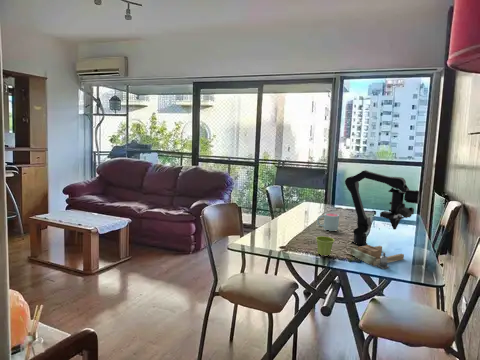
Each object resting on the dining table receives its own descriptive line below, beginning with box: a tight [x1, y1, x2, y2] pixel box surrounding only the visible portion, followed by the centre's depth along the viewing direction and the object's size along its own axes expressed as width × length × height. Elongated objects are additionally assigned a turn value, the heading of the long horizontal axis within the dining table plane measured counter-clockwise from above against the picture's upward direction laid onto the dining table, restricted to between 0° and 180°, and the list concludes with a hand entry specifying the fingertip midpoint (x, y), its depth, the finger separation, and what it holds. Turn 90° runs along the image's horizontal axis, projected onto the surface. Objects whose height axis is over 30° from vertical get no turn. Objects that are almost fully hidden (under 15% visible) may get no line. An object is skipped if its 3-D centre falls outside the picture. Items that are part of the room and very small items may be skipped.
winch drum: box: [376, 252, 390, 270], centre depth 174 cm, size 4×4×7 cm
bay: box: [350, 245, 405, 267], centre depth 188 cm, size 15×22×4 cm
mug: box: [316, 212, 340, 232], centre depth 236 cm, size 14×9×10 cm
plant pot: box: [315, 235, 335, 256], centre depth 188 cm, size 9×9×9 cm
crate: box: [357, 244, 383, 259], centre depth 185 cm, size 8×8×6 cm
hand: (394, 229), depth 198 cm, fingers closed
